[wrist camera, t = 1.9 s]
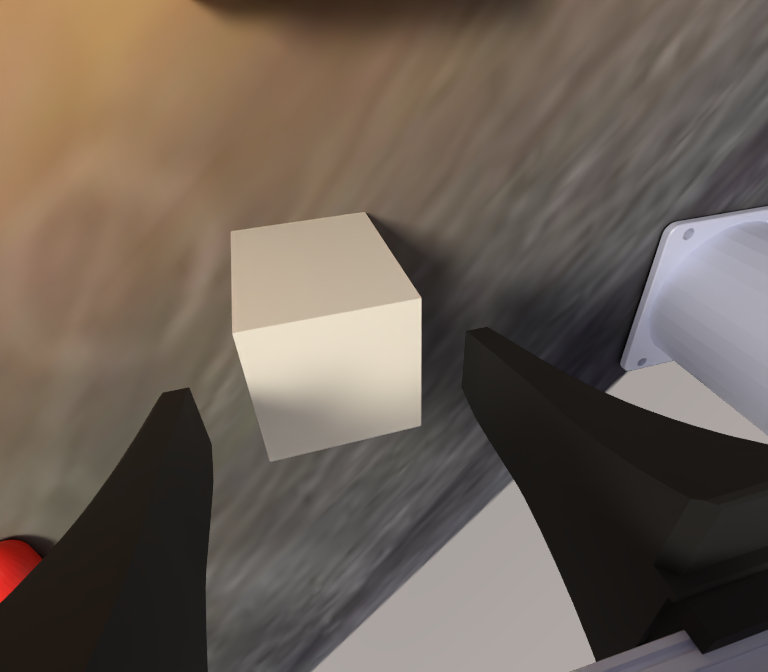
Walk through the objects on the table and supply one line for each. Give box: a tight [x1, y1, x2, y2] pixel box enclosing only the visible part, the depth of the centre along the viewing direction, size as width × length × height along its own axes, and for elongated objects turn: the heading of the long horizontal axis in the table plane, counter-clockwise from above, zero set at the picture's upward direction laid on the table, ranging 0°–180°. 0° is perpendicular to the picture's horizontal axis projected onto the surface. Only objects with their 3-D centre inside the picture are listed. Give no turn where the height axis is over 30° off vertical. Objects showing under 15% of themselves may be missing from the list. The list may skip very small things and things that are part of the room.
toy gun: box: [0, 540, 42, 603], centre depth 21 cm, size 10×12×5 cm
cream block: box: [231, 212, 421, 462], centre depth 15 cm, size 4×4×6 cm
